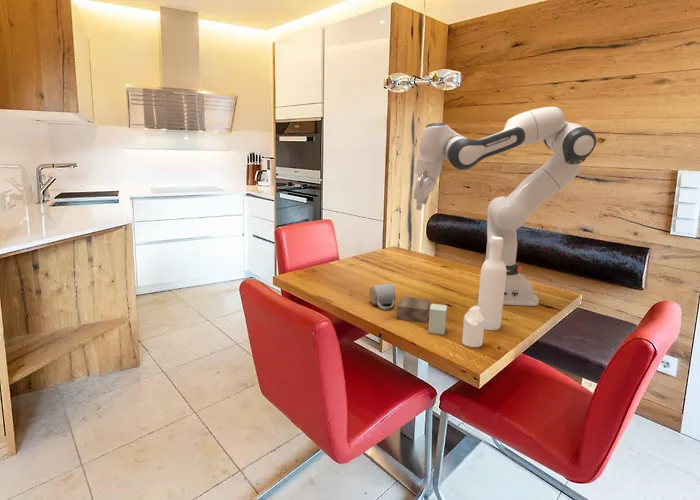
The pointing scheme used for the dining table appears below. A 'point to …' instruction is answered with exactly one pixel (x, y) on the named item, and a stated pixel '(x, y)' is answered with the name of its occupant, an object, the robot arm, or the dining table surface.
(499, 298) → the bottle
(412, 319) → the walnut block
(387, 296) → the ceramic mug
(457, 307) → the dining table surface
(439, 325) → the sage block
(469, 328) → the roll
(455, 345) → the dining table surface
